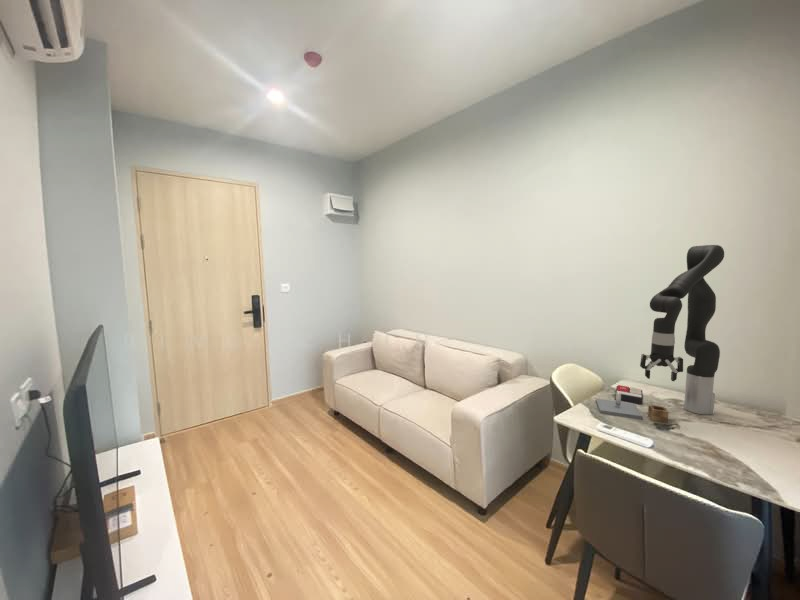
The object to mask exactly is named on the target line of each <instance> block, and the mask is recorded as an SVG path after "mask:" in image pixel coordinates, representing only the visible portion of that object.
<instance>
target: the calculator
mask: <svg viewBox="0 0 800 600" xmlns="http://www.w3.org/2000/svg"><path fill="white" fill-rule="evenodd" d="M617 392H619V393H621V402H626V403H634V404H635V405H640V406H643V402H644V397H643V394H644V393H643V389H641V388H637V387H631V386H630V387H629V386H626V385H621V384H620V385H619V384H618V385H616V390H615V393H614V394H615V395H614V401H616V393H617Z"/></svg>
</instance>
